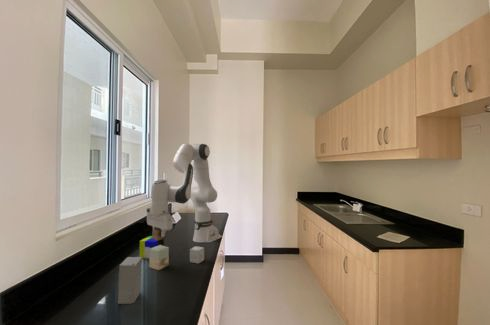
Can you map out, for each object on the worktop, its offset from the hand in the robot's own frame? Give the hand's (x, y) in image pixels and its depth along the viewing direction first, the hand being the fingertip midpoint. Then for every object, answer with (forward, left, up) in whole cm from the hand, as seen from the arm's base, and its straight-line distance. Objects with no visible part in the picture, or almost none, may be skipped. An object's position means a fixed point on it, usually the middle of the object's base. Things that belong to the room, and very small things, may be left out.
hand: (159, 235), depth 132 cm
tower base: (0, 0, -17) cm, 17 cm away
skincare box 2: (-18, +10, -17) cm, 27 cm away
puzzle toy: (-6, -18, -17) cm, 25 cm away
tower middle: (0, 0, -12) cm, 12 cm away
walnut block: (0, 0, -2) cm, 2 cm away
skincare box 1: (+25, +20, -17) cm, 36 cm away
